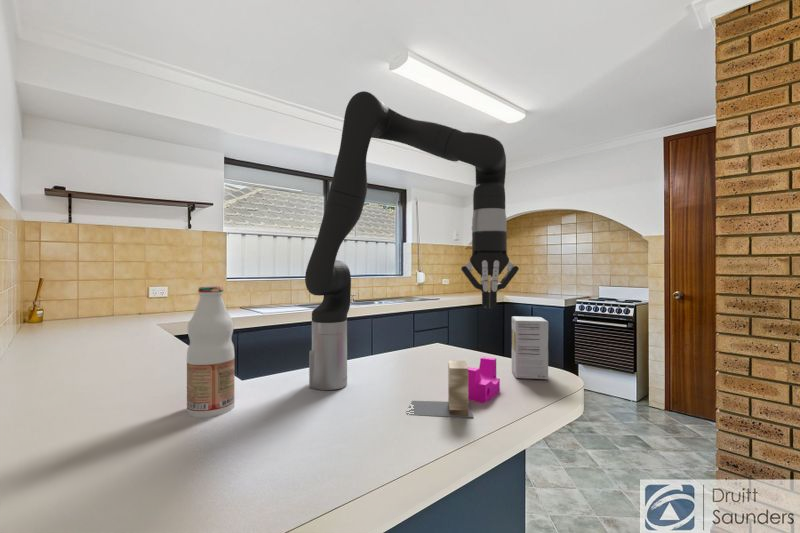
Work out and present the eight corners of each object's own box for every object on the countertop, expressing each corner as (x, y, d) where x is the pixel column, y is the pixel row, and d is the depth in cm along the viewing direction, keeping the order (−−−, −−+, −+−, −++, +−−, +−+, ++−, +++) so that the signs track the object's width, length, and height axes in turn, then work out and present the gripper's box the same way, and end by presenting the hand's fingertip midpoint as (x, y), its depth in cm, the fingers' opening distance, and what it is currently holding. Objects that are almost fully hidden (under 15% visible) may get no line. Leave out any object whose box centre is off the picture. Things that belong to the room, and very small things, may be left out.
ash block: (449, 414, 84) (449, 368, 84) (448, 403, 91) (448, 360, 91) (468, 414, 84) (468, 368, 84) (465, 403, 91) (465, 360, 91)
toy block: (485, 404, 92) (485, 372, 92) (460, 399, 95) (460, 368, 95) (505, 387, 105) (505, 359, 105) (483, 383, 108) (483, 356, 108)
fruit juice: (185, 426, 79) (185, 288, 79) (187, 411, 87) (187, 286, 87) (235, 418, 83) (235, 287, 83) (233, 404, 92) (233, 285, 92)
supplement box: (511, 369, 122) (510, 315, 122) (541, 370, 121) (541, 316, 121) (515, 378, 112) (515, 320, 112) (549, 379, 111) (549, 320, 111)
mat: (398, 416, 84) (398, 414, 84) (402, 401, 93) (402, 400, 93) (473, 418, 83) (473, 416, 83) (469, 403, 92) (469, 402, 92)
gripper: (460, 229, 84) (460, 309, 84) (523, 228, 83) (523, 310, 83) (458, 232, 91) (458, 306, 91) (516, 231, 90) (516, 306, 90)
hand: (489, 308), depth 87 cm, fingers closed
